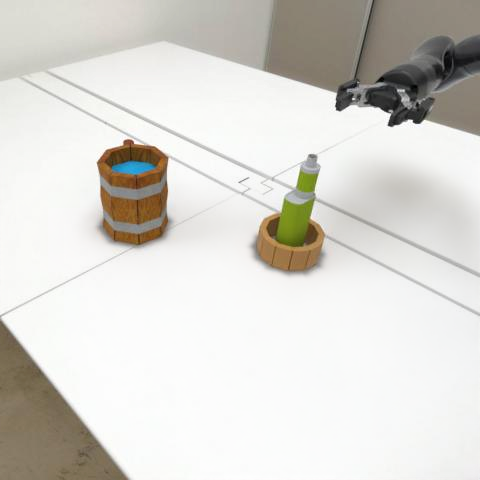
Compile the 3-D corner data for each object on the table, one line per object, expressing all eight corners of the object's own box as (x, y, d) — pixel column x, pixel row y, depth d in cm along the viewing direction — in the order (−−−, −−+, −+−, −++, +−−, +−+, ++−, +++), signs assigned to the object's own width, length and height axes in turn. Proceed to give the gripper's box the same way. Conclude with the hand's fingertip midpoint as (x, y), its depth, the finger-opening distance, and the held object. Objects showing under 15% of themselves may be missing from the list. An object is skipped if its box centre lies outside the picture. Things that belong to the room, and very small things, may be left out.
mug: (173, 241, 90) (174, 175, 80) (104, 247, 89) (97, 181, 79) (159, 188, 105) (159, 127, 96) (100, 193, 104) (94, 132, 94)
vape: (305, 248, 88) (329, 156, 76) (285, 261, 85) (306, 167, 73) (290, 239, 90) (311, 148, 78) (270, 251, 88) (288, 159, 75)
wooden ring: (324, 241, 90) (329, 222, 87) (311, 278, 82) (317, 258, 79) (266, 226, 94) (270, 206, 91) (249, 259, 86) (252, 239, 83)
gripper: (372, 55, 82) (327, 77, 73) (457, 74, 74) (419, 101, 65) (360, 96, 87) (317, 122, 77) (439, 117, 79) (402, 149, 70)
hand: (364, 112), depth 71 cm, fingers open, 8 cm apart
